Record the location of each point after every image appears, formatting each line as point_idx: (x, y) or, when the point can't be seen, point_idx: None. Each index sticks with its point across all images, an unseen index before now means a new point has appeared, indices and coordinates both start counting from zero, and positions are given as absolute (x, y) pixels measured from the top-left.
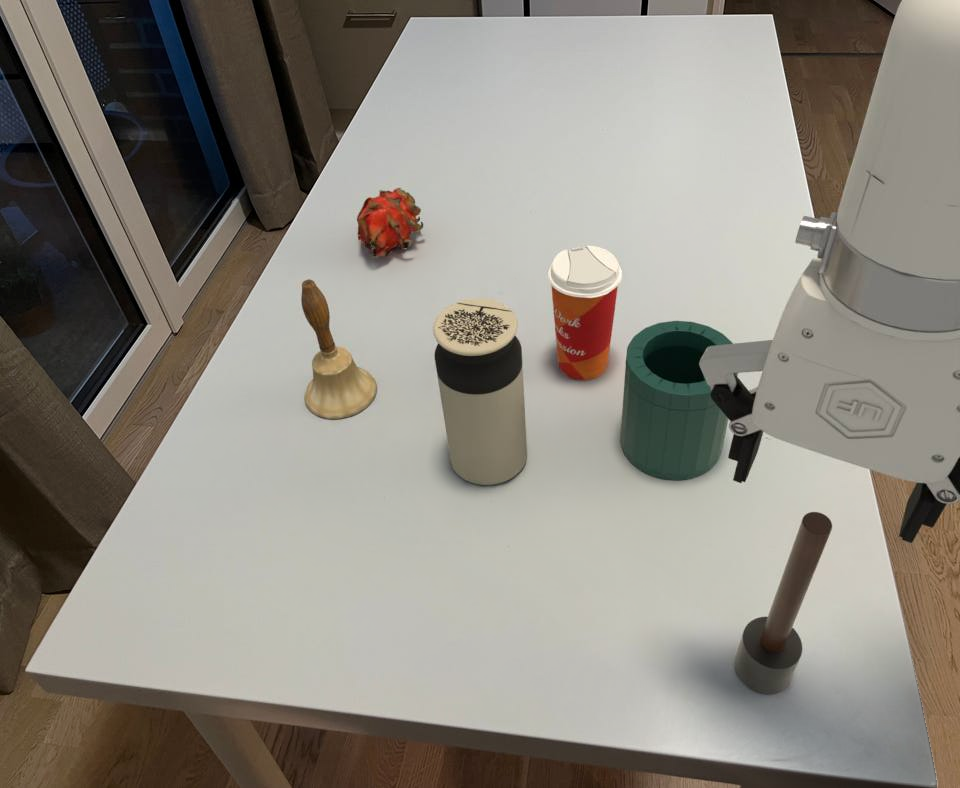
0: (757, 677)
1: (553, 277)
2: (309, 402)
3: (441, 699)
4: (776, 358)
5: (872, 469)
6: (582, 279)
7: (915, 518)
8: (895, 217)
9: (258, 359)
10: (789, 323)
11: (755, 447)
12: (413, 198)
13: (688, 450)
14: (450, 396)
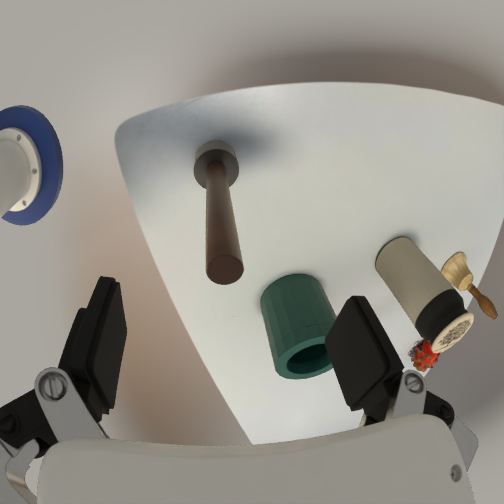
0: (221, 144)
1: None
2: (465, 257)
3: (407, 96)
4: None
5: (203, 459)
6: None
7: (94, 323)
8: None
9: (476, 271)
10: None
11: (366, 358)
12: (418, 369)
13: (289, 298)
14: (450, 284)
